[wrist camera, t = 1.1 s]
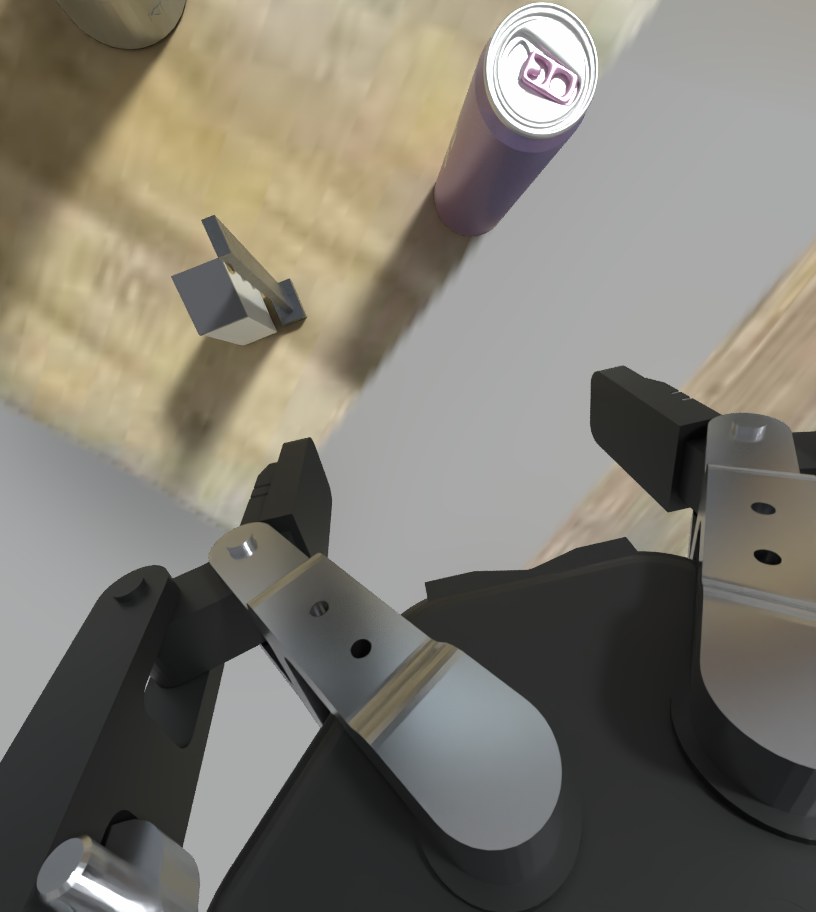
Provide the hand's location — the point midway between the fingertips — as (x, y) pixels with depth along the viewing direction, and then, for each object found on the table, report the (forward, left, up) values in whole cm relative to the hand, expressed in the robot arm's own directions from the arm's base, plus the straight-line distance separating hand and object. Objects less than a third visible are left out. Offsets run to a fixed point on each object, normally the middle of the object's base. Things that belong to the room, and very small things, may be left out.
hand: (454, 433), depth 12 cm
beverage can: (-2, +17, -26) cm, 31 cm away
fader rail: (-11, +3, -26) cm, 28 cm away
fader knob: (-13, 0, -26) cm, 29 cm away
